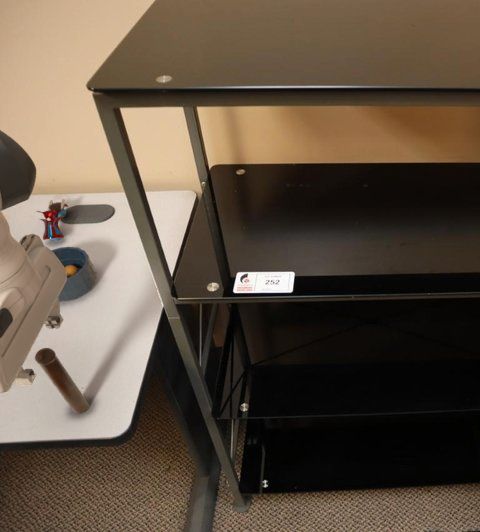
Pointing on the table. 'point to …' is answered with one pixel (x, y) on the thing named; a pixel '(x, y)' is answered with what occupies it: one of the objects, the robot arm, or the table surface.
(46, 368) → the stick
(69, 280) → the bowl
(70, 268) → the bead
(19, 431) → the table surface
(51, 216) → the hoverbike
